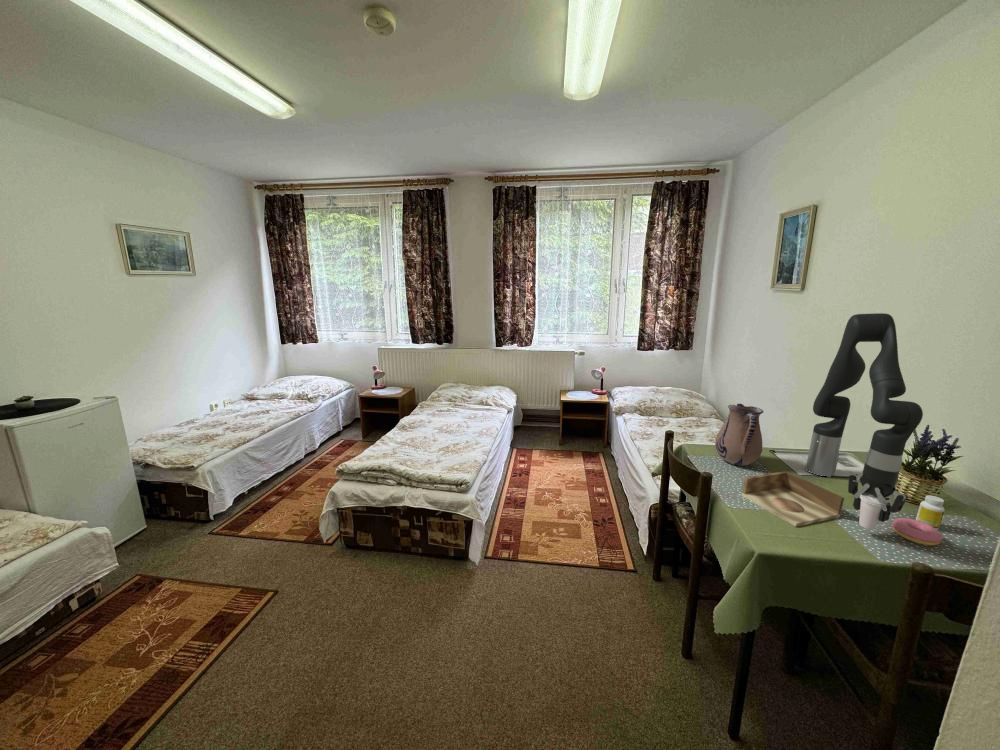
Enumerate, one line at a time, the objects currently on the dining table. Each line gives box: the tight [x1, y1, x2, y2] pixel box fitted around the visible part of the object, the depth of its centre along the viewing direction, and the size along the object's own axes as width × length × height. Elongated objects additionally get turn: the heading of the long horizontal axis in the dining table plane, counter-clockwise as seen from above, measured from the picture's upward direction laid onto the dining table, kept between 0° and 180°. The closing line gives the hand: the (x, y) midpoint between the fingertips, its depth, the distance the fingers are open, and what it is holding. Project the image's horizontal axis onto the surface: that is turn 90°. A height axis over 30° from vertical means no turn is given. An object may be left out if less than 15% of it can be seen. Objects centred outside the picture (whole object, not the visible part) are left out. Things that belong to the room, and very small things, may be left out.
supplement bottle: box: [915, 495, 945, 531], centre depth 127 cm, size 5×5×10 cm
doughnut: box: [891, 517, 943, 546], centre depth 122 cm, size 11×11×4 cm
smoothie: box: [858, 494, 888, 531], centre depth 120 cm, size 6×6×14 cm
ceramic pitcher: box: [714, 403, 764, 467], centre depth 168 cm, size 18×21×25 cm
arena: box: [741, 470, 845, 528], centre depth 137 cm, size 20×20×7 cm
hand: (869, 514), depth 121 cm, fingers closed on smoothie, 6 cm apart
